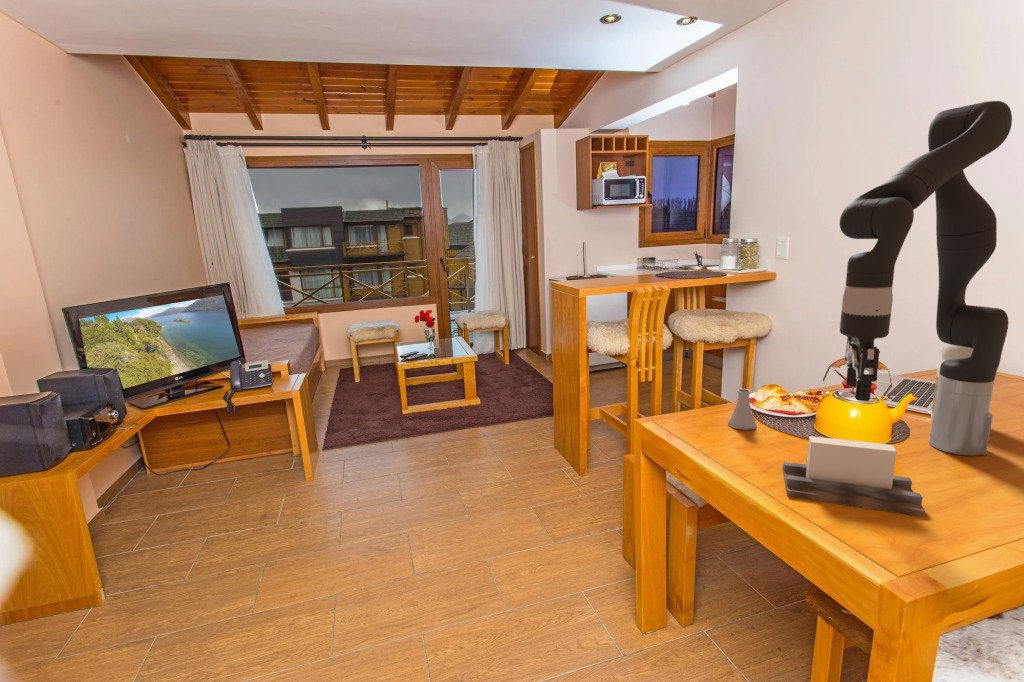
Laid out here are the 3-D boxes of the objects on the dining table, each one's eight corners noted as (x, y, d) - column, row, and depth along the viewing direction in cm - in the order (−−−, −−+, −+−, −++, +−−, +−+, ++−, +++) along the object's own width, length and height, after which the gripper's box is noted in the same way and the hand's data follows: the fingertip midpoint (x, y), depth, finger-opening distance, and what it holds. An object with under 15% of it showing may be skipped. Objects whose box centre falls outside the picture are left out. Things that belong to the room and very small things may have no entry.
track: (904, 484, 100) (906, 472, 100) (924, 516, 90) (926, 503, 89) (782, 468, 109) (783, 457, 109) (787, 495, 99) (788, 483, 98)
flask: (760, 431, 129) (762, 395, 127) (730, 430, 130) (732, 394, 128) (753, 420, 136) (755, 386, 134) (725, 420, 137) (726, 385, 135)
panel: (886, 486, 98) (892, 444, 96) (891, 494, 95) (896, 451, 93) (805, 475, 104) (809, 436, 102) (807, 482, 101) (811, 442, 99)
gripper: (902, 317, 83) (891, 407, 87) (880, 303, 96) (871, 382, 100) (849, 316, 87) (840, 403, 90) (835, 303, 99) (828, 380, 103)
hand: (857, 392), depth 95 cm, fingers open, 8 cm apart
